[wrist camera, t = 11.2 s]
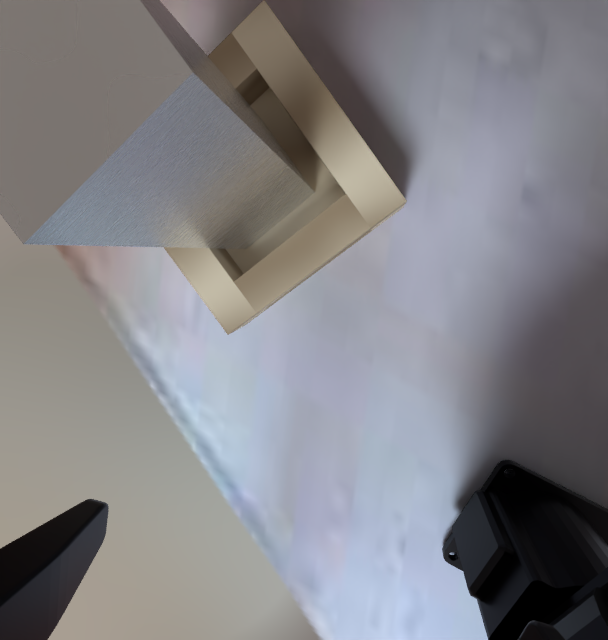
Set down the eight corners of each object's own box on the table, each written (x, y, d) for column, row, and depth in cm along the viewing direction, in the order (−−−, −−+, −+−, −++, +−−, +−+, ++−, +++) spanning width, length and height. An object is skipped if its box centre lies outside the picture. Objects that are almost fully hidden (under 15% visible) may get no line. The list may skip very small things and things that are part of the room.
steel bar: (315, 192, 19) (193, 72, 6) (246, 249, 20) (23, 244, 7) (260, 117, 19) (21, -161, 6) (194, 178, 20) (-126, 49, 7)
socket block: (402, 208, 19) (406, 201, 16) (248, 323, 22) (227, 334, 19) (281, 38, 19) (264, -1, 16) (139, 174, 21) (101, 162, 18)
